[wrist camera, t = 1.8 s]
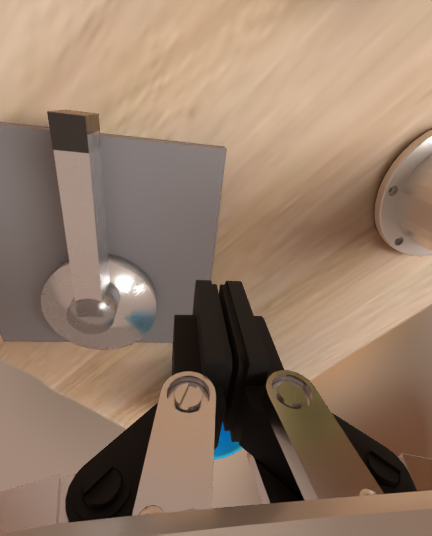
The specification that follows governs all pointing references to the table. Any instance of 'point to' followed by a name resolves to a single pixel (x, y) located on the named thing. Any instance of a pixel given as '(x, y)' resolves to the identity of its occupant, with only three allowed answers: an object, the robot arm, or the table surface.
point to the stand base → (107, 222)
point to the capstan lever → (91, 250)
